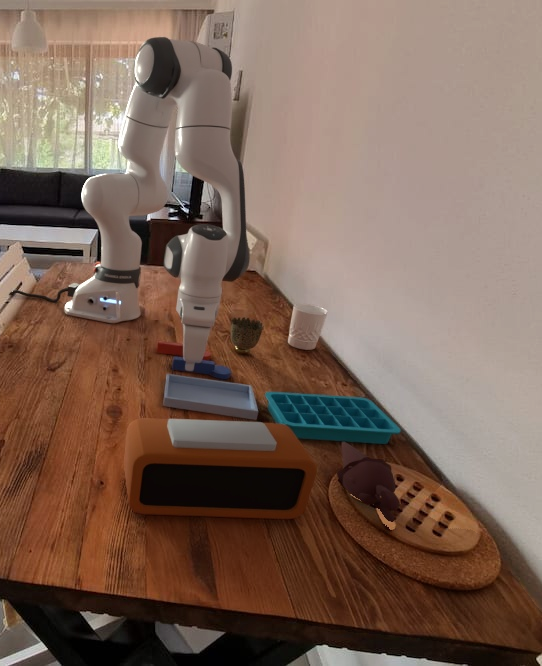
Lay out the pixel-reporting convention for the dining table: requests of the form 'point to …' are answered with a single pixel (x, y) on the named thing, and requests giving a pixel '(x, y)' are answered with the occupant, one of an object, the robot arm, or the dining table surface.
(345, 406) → the ice cube tray
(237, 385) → the blue tray
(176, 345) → the red spoon
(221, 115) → the robot arm
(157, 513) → the alarm clock
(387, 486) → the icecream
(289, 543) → the dining table surface
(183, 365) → the blue spoon
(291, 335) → the white cup
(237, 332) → the cup
